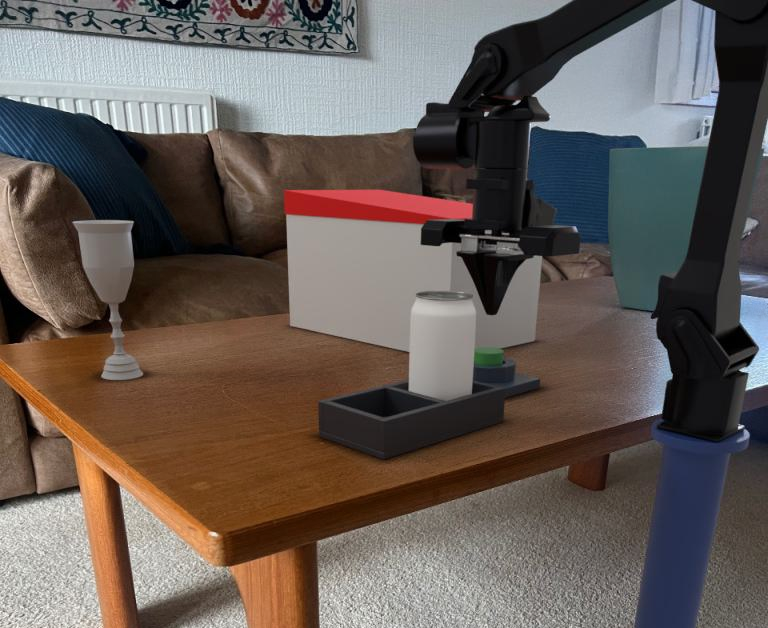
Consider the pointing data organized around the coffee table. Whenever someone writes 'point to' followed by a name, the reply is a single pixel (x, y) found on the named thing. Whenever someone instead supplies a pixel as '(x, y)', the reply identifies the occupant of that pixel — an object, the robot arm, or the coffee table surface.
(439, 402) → the divided tray
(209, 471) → the coffee table surface
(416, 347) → the can
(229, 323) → the coffee table surface
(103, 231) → the chalice
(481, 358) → the button
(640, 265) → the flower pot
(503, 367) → the grey button base
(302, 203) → the red-topped white box
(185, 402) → the coffee table surface
